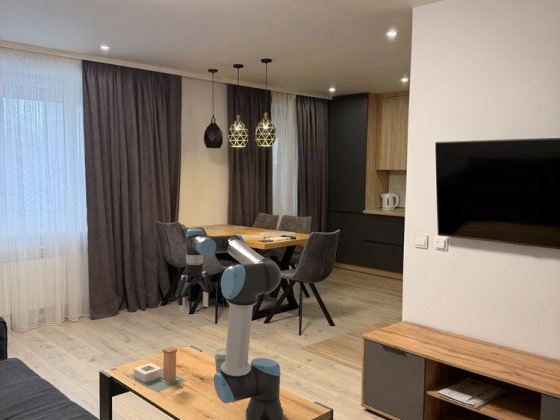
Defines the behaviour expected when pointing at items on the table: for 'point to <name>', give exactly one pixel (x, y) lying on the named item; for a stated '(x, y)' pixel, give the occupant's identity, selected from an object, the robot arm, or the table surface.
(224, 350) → the coffee cup
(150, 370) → the peg socket board
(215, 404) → the table surface
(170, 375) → the plug
